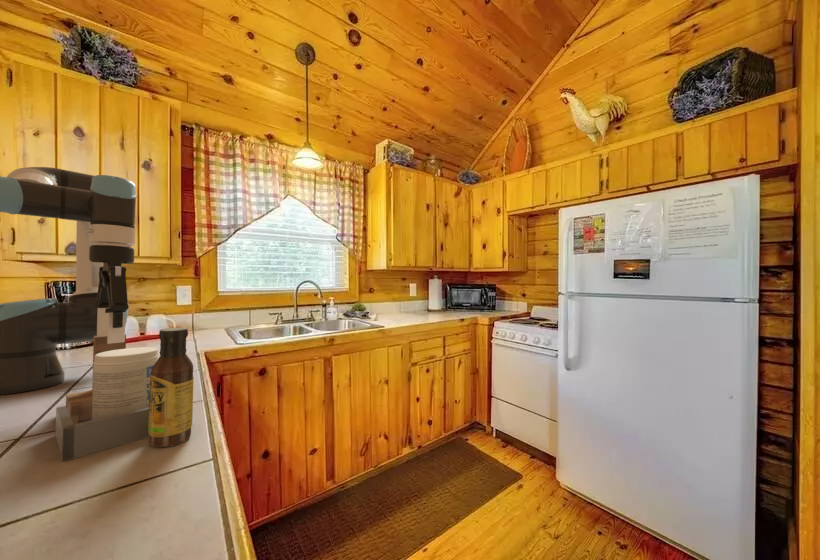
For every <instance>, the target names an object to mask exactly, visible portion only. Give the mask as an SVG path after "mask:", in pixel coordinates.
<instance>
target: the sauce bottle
mask: <svg viewBox="0 0 820 560" xmlns="http://www.w3.org/2000/svg"><path fill="white" fill-rule="evenodd" d="M158 335H159V336H158V338H159V340H160V349H159V356H158V358H159V359H158V360H157V362H156V363H155V364H154V366H153V368H152V371H151V374H150V393H149V425H148V434H149V435H150V437H148V438H149V439H148V442H149V445H150V446H153V447H155V448H167V447H172V446H173V447H174V446H177V445H179V444H182V443H184V442H185V441H187V440H189V439H190V437H191V435H192V426H193V412H194V407H193V406H194V364H193V362H192V360H191V359H190V358H189V356H188V355H187V349H188V348H187V337H188V335H189V331H188V328H187V327H183V326H182V327H180V326H179V327H167V328H161V329H160V330H159V333H158Z"/></svg>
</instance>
